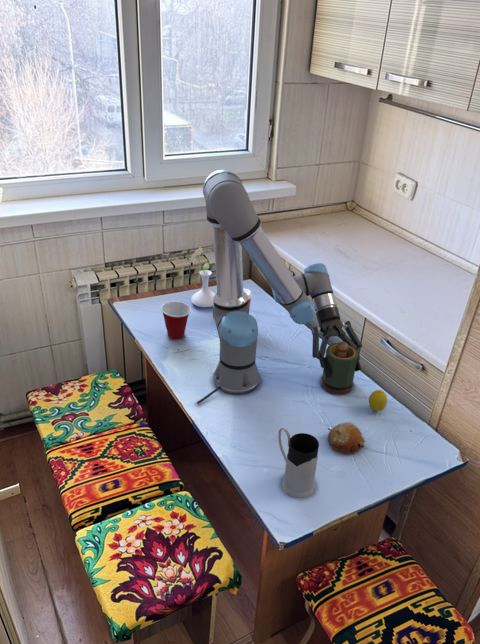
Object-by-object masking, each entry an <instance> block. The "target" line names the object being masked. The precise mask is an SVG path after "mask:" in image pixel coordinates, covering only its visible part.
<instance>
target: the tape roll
mask: <svg viewBox="0 0 480 644" xmlns="http://www.w3.org/2000/svg"><path fill="white" fill-rule="evenodd" d="M339 343H340V342H334V343H332V344H329V345H327V347H326V351H325V355H324V357H327V359H328V363H329V367H330V370H331V374H332V376H331V377H329V378H326V375H325V371H324V368H322V369H323V370H322V375H323V376H321V377H323V380H324V382H325V383H327V384H328V385H329V386H332V387H336V388H346V387H348V386H350V385H352V382H353V383H354V380H355V379H354V378H355V374H356V372H355V368H356V363H357V357H358V352H359V351H358V352H357V350H356V348H354V347H352V346H351V345H348V347H349V348H348V351H347V354H346V358H340V357H337V351H338V349H337V346H338V344H339Z"/></svg>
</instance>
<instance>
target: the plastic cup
mask: <svg viewBox="0 0 480 644" xmlns="http://www.w3.org/2000/svg"><path fill="white" fill-rule="evenodd" d="M160 311H161V312H162V316H163V319H164V324H165V325H164V326H165V329H166V333H167V336H168V338H169V339H170V340H173V341H179V340H182V339H184V337H185V332H186V330H187V329H186V328H187V323H188V318H189V316H190V314H191V312H192V308H191V306H190V304H187V302H186V303H185V302H182V301H178V300H172V301H166V302H165V303H163V304H161V307H160Z"/></svg>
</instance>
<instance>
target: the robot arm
mask: <svg viewBox="0 0 480 644" xmlns="http://www.w3.org/2000/svg"><path fill="white" fill-rule="evenodd" d="M202 194H203V197H204V200H205V201H204V202H205V211H206V221H207V222H208V223H209V224H210V225H211V227H212V239H213V253H214V265H215V267H214V269H215V281H216V293H215V295H214V297H213V304H214V305H213V306H212V318H213V321H214V323H215V328H216V331H217V334H218V335H217V336H218V339H219V361H218V362H217V365H216V368H215V370H214V372H213V384H214V386H215V389H214V390H212V391H211V392H209V393H208V394H206V395H205V396H204V397H203V398H201V399H200V400H198V401H196V404H197V405H199V404H201V403H203V402H204V401H205V400H207V399H208V398H209V397H211V396H212V395H214V394H216V393H217V392H218V391H220V392H223V393H225V394H229V395H235V396H236V395H238V396H240V395H247V394H250V393H252V392H254V391H255V390H257V389H258V387H259V385H260V381H261V379H260V378H261V377H260V373H259V369H258V366H257V363H256V357H257V345H258V344H257V343H258V336H259V325H258V322H257V320H256V318H255V317H254V316H253V315H252V314H250V310H249V302H248V295H247V294H246V293H245V292H244V291H243V288H244V275H243V274H244V273H243V272H244V270H243V251H244V252H245V253H246V254H247V256H248V257H249V259H250V260H251V262H252V263H253V264H254V266H255V267H256V268H257V270H258V271H259V273H260V275H262V277H263V278H264V279H265V281H266V283H267V284H268V285H269V287H270V288H271V291H272V295H273V299H274V301H275V303H278V304H281V303H282V306H283V307H284V308H285V310H286V311H287V312H288V314H289V317H290V319H292V321H293V322H294V323H295V324H297V325H307V324H309V323H310V322H311V321H312V320H313V319H314V317H316V320H317V323H318V326H314V327H313V328H311V329H310V331H311V335H312V353H311V354H312V355H311V356H312V358H313V359H317V360H318V361H319V364H320V368H322V369H324V371H325V375H326V378H329V377H331V376H332V374H331V370H330V367H329V363H328V359H327V357H325V355H326V349H327V348H328V342H329V339H330V338H331V337H337V338H339V339H340V340H341V342H346V343H347V344H348V345H351V346H352V347H354V348H356V350H357V352H358V357H357V363H356V368H355V373H356V372H359V371H362V367H361V363H360V360H361V356H360V352H359V350H360V349H361V348H363V343H362V342H361V341H360V339H359V337H358V335H357V334H356V332H355V330H354V329H353V327H352V323H351V321H350V320H347V321H343V322H342V320H341V315H340V311H339V307H337V305H338V304H337V301H336V296H335V294H334V291H333V286H332V282H331V279H330V274H329V271H328V269H327V267H326V265H325V263H323V262H316V263H312V264H309V265H308V266H307V265H306V266H305V267H304V269H303V273H301V274H298V275H293V273H292V272H291V270H290V269H289V267H288V266H287V263H286V262H285V261H284V260H283V258H282V257H281V255H280V254H279V253H278V251H277V249H276V248H275V246H274V245H273V244H272V242H271V241H270V239H269V237H268V236H267V234H266V233H265V231H264V230H263V228H262V220H261V219H260V217H259V216H258V214H257V212H256V210H255V208H254V207H253V204H252V201H251V199H250V196H249V193H248V192H247V190H246V189H245V186H244V184H243V182H242V179H241V178H240V177H239V176H238V175H237V174H236V173H235V172H233V171H231V170H227V169H218V170H215V171H213V172H211V173H209V175H208V176H207V177H206V178H205V180H204V182H203V187H202ZM309 296H310V298H311V300H310V298H309ZM311 301H312V302H311ZM315 312H316V313H315ZM320 332H321V333H322V336H321V342H320Z"/></svg>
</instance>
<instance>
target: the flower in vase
mask: <svg viewBox="0 0 480 644" xmlns="http://www.w3.org/2000/svg"><path fill="white" fill-rule="evenodd" d="M203 249H204V248H203V247H201V246H200V247H198V248H196V249H195V251H194V252H193V253H192V254H190V257H189V259H188V263H189V264H191V263H193V262H195V261H196V260H197V259H198V261H199V264H200V267H198V268H196V269H195V270H194V271H193V274H197V273H199V275H200V277H201V282H202V287H201V289H200V290H198V291H197V292H195V293H193V295H192V296H191V298H190V301H191V303H192V304H193V305H194V306H196V307H199V308H211V307H212V308H213V305H214V304H213V297H214V295H215V294H216V293H215V292H214V291H212V290H211V289H210V288H209V279H210V276H212V274H213V272H212V271H211V270H209V269H210V266H211V265H210V262H209V261H208V262H206V263H205V264H203V265H202V262H201V260H200V256H201V254H202V253H203Z"/></svg>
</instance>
